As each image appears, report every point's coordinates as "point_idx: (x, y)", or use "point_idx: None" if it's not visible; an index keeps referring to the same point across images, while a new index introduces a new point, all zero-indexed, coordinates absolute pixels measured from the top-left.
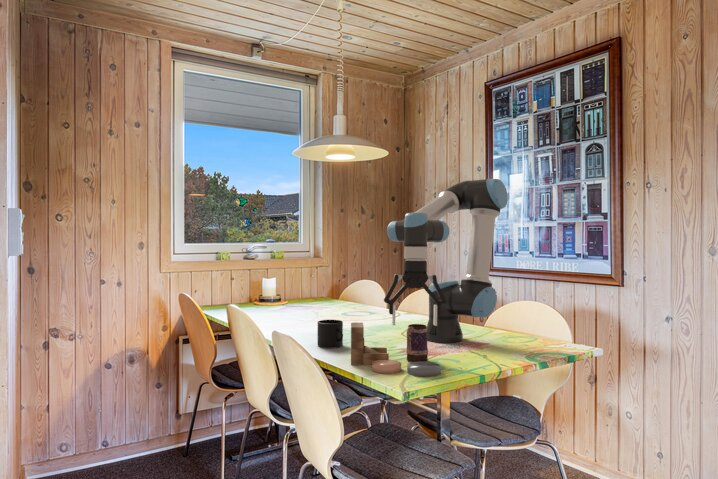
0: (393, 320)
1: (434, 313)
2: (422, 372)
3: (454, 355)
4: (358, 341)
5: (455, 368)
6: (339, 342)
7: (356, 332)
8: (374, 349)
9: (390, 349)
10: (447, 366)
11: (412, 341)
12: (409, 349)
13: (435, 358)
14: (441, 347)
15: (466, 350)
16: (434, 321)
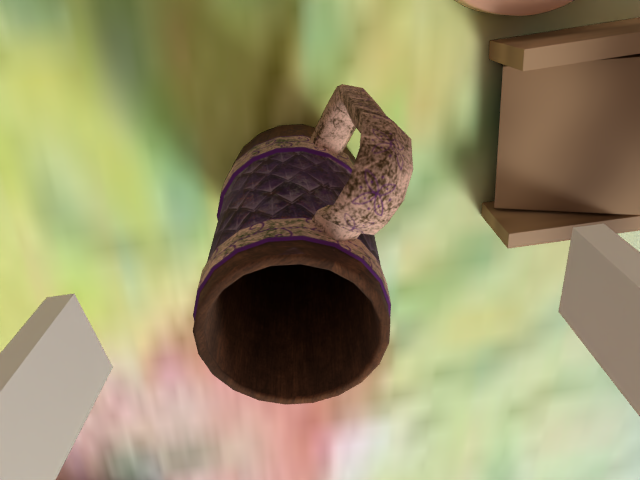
0: (636, 258)
1: (2, 446)
2: None
3: (95, 326)
4: None
5: (13, 13)
6: None
7: None
8: (591, 217)
9: (440, 385)
10: (82, 65)
11: (334, 188)
12: (356, 88)
13: (191, 252)
14: (188, 448)
15: None
16: (61, 345)
